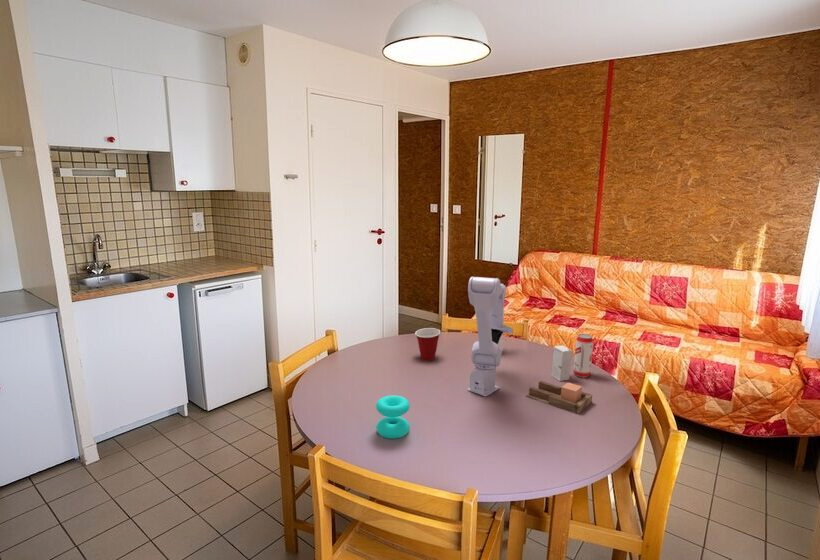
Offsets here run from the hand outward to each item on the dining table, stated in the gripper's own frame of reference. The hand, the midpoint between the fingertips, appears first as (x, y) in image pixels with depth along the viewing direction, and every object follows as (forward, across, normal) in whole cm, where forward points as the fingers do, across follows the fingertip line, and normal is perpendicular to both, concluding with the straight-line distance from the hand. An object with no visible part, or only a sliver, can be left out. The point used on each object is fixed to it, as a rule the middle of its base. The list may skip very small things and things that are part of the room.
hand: (494, 347), depth 185 cm
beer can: (+11, -27, -21) cm, 36 cm away
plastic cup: (+11, +29, +6) cm, 31 cm away
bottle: (+11, +12, -19) cm, 25 cm away
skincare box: (+11, -22, -13) cm, 28 cm away
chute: (+10, -30, +5) cm, 32 cm away
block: (+10, -34, +5) cm, 36 cm away
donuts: (+11, -2, +59) cm, 60 cm away
